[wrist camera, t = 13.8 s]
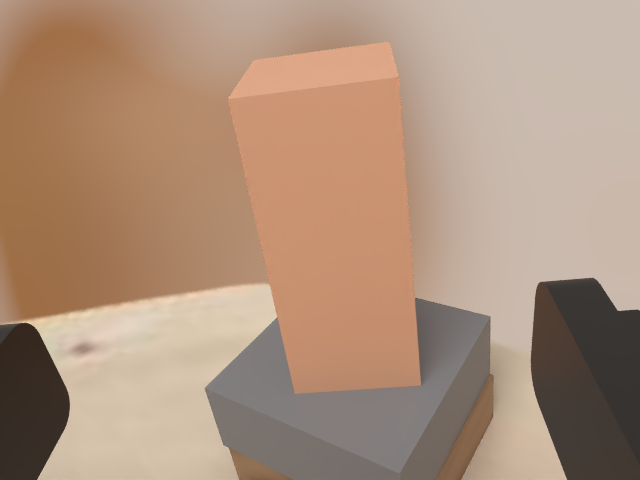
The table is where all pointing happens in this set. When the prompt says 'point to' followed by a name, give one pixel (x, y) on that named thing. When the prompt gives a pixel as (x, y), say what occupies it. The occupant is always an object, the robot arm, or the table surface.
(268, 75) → the pillar
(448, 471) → the slab bottom
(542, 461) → the table surface
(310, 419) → the slab top
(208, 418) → the table surface
